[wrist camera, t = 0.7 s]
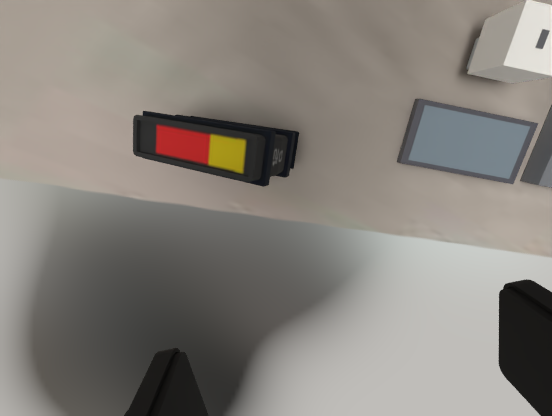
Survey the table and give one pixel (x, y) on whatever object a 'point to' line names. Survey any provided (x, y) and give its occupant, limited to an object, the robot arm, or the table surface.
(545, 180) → the power strip
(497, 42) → the charger plug
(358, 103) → the table surface
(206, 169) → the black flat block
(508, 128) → the phone
